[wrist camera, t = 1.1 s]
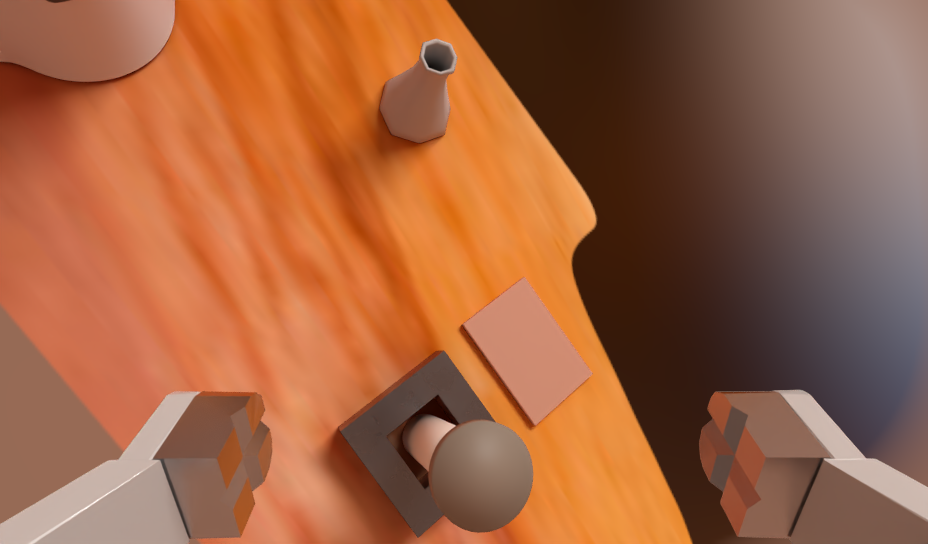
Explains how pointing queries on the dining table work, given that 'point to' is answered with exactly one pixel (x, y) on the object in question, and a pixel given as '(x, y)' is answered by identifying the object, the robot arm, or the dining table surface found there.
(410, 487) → the eye block
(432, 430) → the peg
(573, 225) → the dining table surface
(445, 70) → the flask
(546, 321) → the pad
